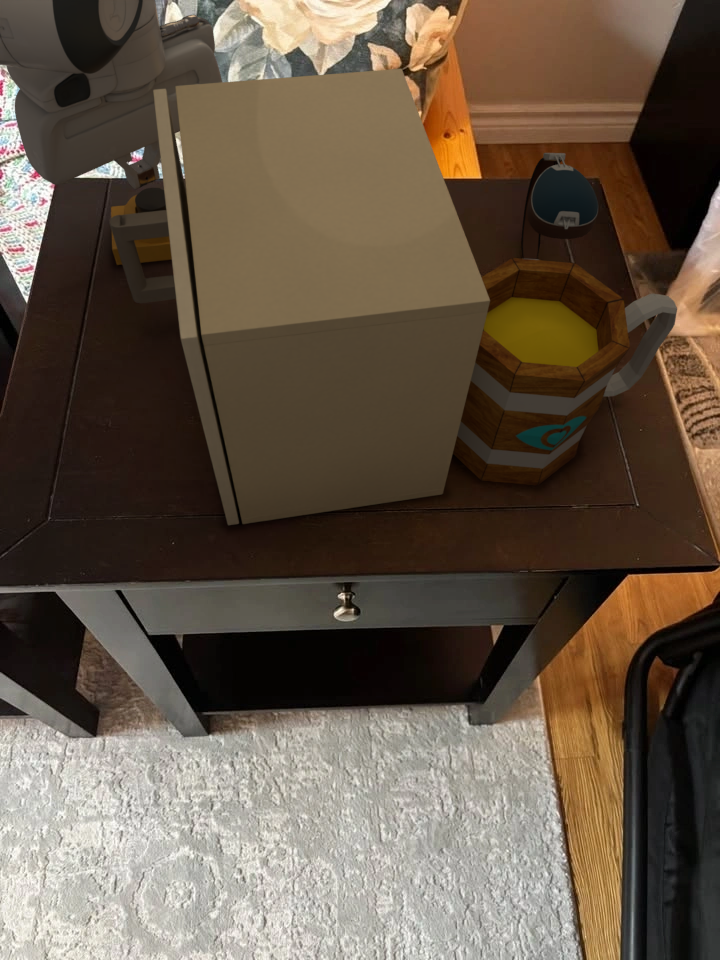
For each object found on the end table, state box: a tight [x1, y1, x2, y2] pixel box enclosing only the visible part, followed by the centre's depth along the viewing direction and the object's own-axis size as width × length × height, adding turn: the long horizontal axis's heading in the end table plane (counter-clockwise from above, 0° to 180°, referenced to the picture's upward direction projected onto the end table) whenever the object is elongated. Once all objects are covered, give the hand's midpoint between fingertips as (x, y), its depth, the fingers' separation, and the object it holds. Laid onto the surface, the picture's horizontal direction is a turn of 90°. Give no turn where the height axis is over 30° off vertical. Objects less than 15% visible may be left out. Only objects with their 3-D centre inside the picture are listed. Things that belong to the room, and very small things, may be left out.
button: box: [135, 187, 166, 213], centre depth 80 cm, size 4×4×2 cm
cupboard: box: [175, 68, 490, 525], centre depth 63 cm, size 18×26×24 cm
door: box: [109, 89, 240, 526], centre depth 61 cm, size 7×26×24 cm, turn 12°
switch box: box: [110, 194, 172, 266], centre depth 82 cm, size 10×7×4 cm
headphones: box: [520, 152, 599, 260], centre depth 74 cm, size 6×15×22 cm
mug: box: [452, 257, 678, 486], centre depth 66 cm, size 20×14×15 cm
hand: (144, 181), depth 78 cm, fingers closed
